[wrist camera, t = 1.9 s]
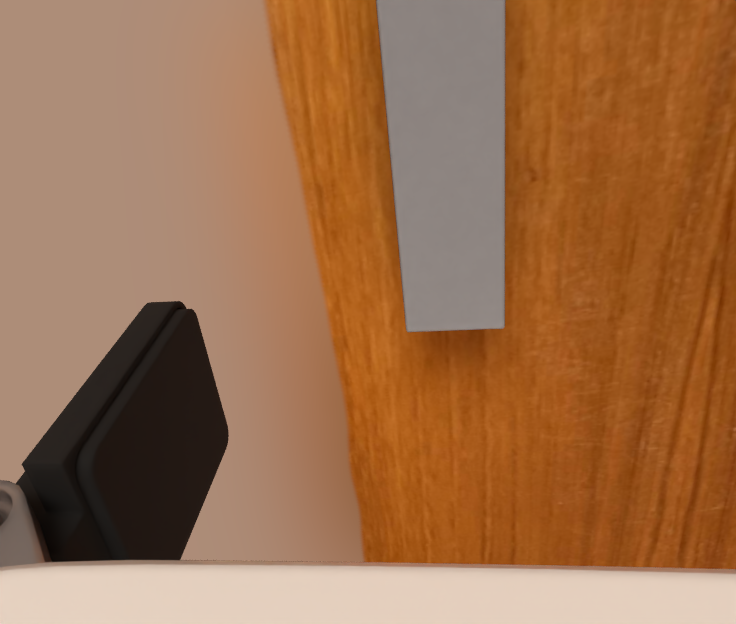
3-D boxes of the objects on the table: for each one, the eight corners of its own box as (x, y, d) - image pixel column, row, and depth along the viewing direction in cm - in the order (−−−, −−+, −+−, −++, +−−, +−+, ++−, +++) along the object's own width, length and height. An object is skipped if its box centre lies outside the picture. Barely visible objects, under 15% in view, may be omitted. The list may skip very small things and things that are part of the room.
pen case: (377, -111, 20) (365, -115, 17) (494, -127, 20) (505, -134, 17) (410, 280, 28) (405, 333, 24) (496, 276, 27) (504, 329, 24)
